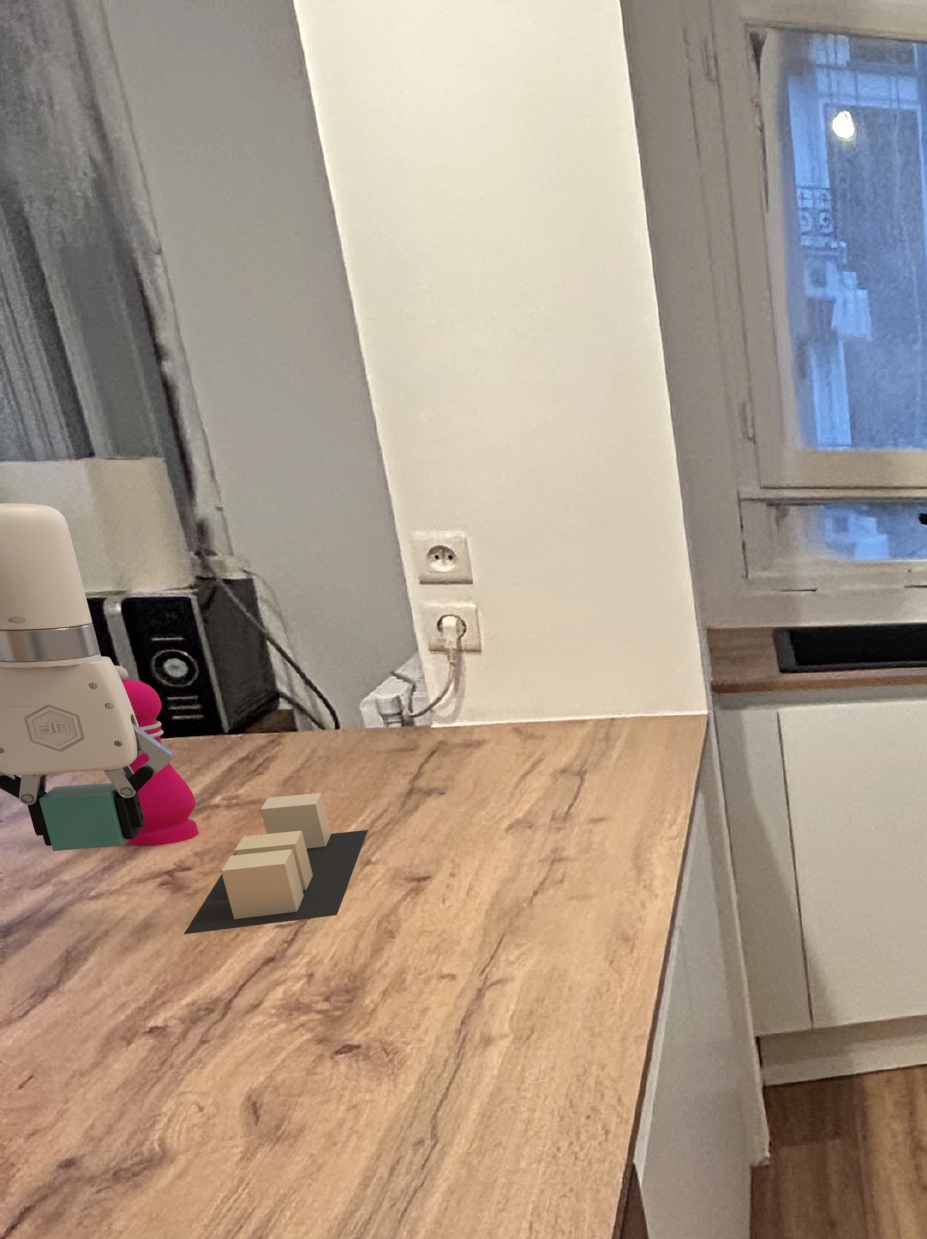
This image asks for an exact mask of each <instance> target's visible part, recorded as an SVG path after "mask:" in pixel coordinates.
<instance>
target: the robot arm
mask: <svg viewBox="0 0 927 1239" xmlns="http://www.w3.org/2000/svg"><path fill="white" fill-rule="evenodd" d="M115 666H116V665H115V664H114V663H113V661H112V659H111V657H109V656H102V655H101V651H100V647H99V644H98V639H97V635H96V631H95V628H94V623H93V619H92V616H91V612H90V608H89V604H88V600H87V596H86V592H85V588H84V584H83V580H82V575H81V572H80V567H79V565H78V560H77V556H76V550H75V548H74V544H73V540H72V536H71V532H70V527H69V525H68V523H67V520H66V519H65V516H64V515H63V514H62V513H61V512H60V511H59V510H58V509H56V508H54V507H53V506H49V505H47V504H40V503H39V504H38V503H24V502H23V503H17V502H16V503H15V502H14V503H13V502H12V503H11V502H8V503H7V502H5V503H4V502H1V503H0V789H1V790H2V791H4V792H6V793H7V794H9V795H11V796H13V797H15V798H17V799H18V800H19V802H20V803H21V804H23V805H26V806H27V808H28V813H29V816H30V819H31V824H32V828H33V831H34V833H35V835H36V836H37V837H39V836H41V837H42V838H43V842H44V845H45V846H46V847H50V846H51V847H52V845H51V841H50V837H49V834H48V830H47V827H46V823H45V819H44V816H43V812H42V808H41V805H40V801H39V799H40V798H41V797H43V796H44V795H45V794H46V793H48V792H47V791H46V790H47V782H48V775H55V774H68V773H69V774H70V773H71V774H72V773H84V772H85V773H86V772H87V773H88V772H101V771H103V772H104V773H105V775H106V776H107V778H108V779H109V781H110V783H112V784H113V785H114V787H115V788H116V790H117V791H116V794H117V798H116V799H115V800H114V803H115V807H116V811H117V815H118V819H119V823H120V827H121V831H122V835H123V838H126V841H128V839H134V838H135V837H136V836H137V835H138V834H139V833H140V828H143V827H144V826H145V820H144V815H143V811H142V808H141V804H140V800H139V796H138V791H139V790H140V789H141V788H142V787H143V786H144V785H145V784H146V783H147V782H148V781H149V780H150V779H151V778H152V777H153V776H154V775H155V774H156V773H157V772H159V771H160V770H161V769H162V768H164V767H165V766H166V765H167V764H169V763H170V764H171V762H173V760H174V759H175V753H174V752H173V751H172V750H170V749H169V748H168V747H166V746H165V745H163V744H162V742H161V743H159V742H158V741H156V740H155V739H154V738H152V737H151V736H150V735H148V734H147V733H146V732H144V731H143V730H142V729H140V728H139V726H138V723H137V720H136V717H135V714H134V711H133V709H132V706H131V703H130V700H129V698H128V695H127V693H126V690H125V688H124V685H123V683H122V681H121V679H120V677H119V674H118V672H117V670H116V668H115ZM143 752H144V753H146V754H147V755H148V756H149V760H148V761H147V762H146V763H145V764H144V765H142V766H141V767H140V768H139V769H138V770H137V771H136V772H135V773H134V772H133V770H132V769H131V767H130V766H129V765H130V764H131V763H132V762H133V761H134V760H135V759H136V758H137V757H139V756H140V755H141V754H142V753H143ZM20 776H21V777H20Z"/></svg>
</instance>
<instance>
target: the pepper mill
mask: <svg viewBox="0 0 927 1239" xmlns="http://www.w3.org/2000/svg"><path fill="white" fill-rule="evenodd" d="M114 666H115V668H116V670H117V672H118V674H119V677H120V679H121V681H122V683H123V685H124V688H125V690H126V693H127V695H128V698H129V700H130V703H131V706H132V709H133V711H134V714H135V717H136V720H137V723H138V726H139V728H140V729H142V730H143V731H144V732H146V733H147V734H148V735H150V736H151V737H152V738H154V739H155V740H156V741H158V742H159V743H161V744H162V740H161V739H162V738H161V736H162V735H163V734H164V730H163V729H162V723H161V721H160V720H159V721H158V720H157V717H158V716H159V714H160V713H161V710H162V706H163V704H162V701H161V698H160V696H159V694H158V692H157V691H156V689H154V688H153V687H151V685H150V684H147V683H145V682H143V681H140V680H136V679H130V678H129V673H128V670H127V669H126V668H124V667H123V666H121V665H114ZM128 678H129V679H128ZM148 760H149V756H148V755H147V754H146V753H144V752H143V753H142V754H141V755H140V756H139V757H137V758H136V759H135V760H134V761H133V762H132V763H131V764H130V765H129V766H130V767H131V769H132V770H133V772H134V773H135V772H136V771H137V770H138V769H139V768H140V767H141V766H142V765H144V764H145V763H146V762H147V761H148ZM138 796H139V800H140V804H141V808H142V811H143V815H144V820H145V826H144V827H143V828H140V833H139V834H138V835H137V836H136V837H135V838H134V839H127V842H128V845H131V846H135V847H154V846H155V847H156V846H163V845H171V844H175V843H180V842H185V841H187V840H190V839H193V838H195V837H196V836H197V837H198V835H199V830H198V826H197V822H196V821H195V820H193V819H189V817H190V815H191V814H192V812H193V811H194V810H195V808H196V805H197V803H196V798H195V796H194V793H193V791H192V790H191V788H190V787H189V785H188V783H187V782H186V781H185V780H184V779H183V778H182V776H181V775H180V774H179V773H178V772H177V771H176V769H175V768H174V767H173V766H172V764H171V762H170V763H169V764H167V765H166V766H165V767H164V768H162V769H161V770H160V771H159V772H157V773H156V774H155V775H154V776H153V777H152V778H151V779H150V780H149V781H148V782H147V783H146V784H145V785H144V786H143V787H142V788H141V789H140V790H139V791H138Z"/></svg>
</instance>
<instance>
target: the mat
mask: <svg viewBox="0 0 927 1239" xmlns="http://www.w3.org/2000/svg"><path fill="white" fill-rule="evenodd" d="M368 831H369V829H362V830H354V831H344V832H333V833H331V836H330V838H329V840H328V843H327V845H326V847H317V848H308V849H306V850H307V854H308V858H309V862H310V866H311V870H312V874H313V876H312V878H311V881H310V883H309V885H308V887H307V890H302V891H303V895H304V897H303V899H302V901H301V903H300V906H299V908H298V910H297V912H291V913H282V914H274V915H266V916H258V917H250V918H242V919H234V916H233V913H232V909H231V905H230V902H229V898H228V894H227V891H226V887H225V883H224V880H223V876H222V873H221V874H220V876H219V877H218V879H217V880H216V883H215V884H214V885H213V886H212V888H211V890H210V892H209V894H208V895H207V897H206V898H205V900H204V901H203V903H202V904H201V906H200V907H199V909H198V910H197V912H196V914H195V916H194V917H193V918H192V920H191V922H190V923H189V924H188V926H187V928H186V929H185V931H184V933H183V935H191V934H198V933H206V932H214V931H221V930H229V929H230V930H231V929H237V928H246V927H255V926H263V925H269V924H279V923H285V922H294V921H301V920H310V919H318V918H326V917H332V916H338V913H339V911H340V908H341V905H342V903H343V900H344V897H345V895H346V893H347V892H346V891H347V889H348V886H349V883H350V880H351V878H352V875H353V873H354V869H355V866H356V864H357V861H358V858H359V856H360V854H361V851H362V848H363V845H364V842H365V839H366V837H367V834H368ZM234 855H235V853H234V854H233V855H232V856H234Z"/></svg>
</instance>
